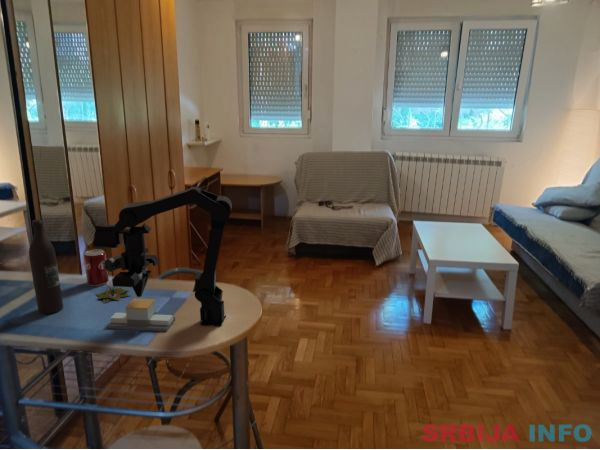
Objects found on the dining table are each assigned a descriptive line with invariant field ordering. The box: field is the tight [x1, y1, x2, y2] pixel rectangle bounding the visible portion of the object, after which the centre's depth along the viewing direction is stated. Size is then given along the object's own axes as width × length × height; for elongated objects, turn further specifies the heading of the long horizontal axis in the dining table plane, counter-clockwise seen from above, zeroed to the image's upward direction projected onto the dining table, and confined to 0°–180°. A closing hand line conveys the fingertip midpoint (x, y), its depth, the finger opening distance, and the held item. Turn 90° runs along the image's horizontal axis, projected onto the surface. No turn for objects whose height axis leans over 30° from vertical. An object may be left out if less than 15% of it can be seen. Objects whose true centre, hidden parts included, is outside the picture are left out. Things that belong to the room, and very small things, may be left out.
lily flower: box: [95, 284, 131, 304], centre depth 151 cm, size 12×12×5 cm
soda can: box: [83, 248, 110, 287], centre depth 160 cm, size 7×7×12 cm
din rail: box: [107, 312, 176, 332], centre depth 132 cm, size 18×7×2 cm, turn 86°
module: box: [125, 297, 157, 326], centre depth 132 cm, size 6×6×6 cm
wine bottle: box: [28, 219, 64, 315], centre depth 136 cm, size 7×7×30 cm
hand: (139, 296), depth 130 cm, fingers closed
